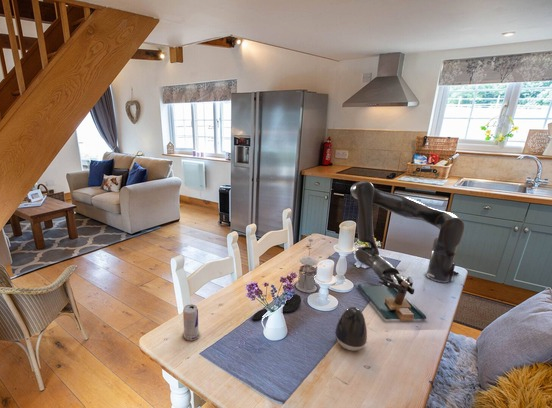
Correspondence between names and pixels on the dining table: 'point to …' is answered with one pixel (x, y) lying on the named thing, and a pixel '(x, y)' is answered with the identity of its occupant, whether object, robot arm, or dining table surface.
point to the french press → (307, 274)
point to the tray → (378, 299)
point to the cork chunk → (404, 314)
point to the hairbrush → (286, 309)
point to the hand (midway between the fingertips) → (408, 292)
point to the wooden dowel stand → (398, 300)
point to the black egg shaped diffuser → (351, 329)
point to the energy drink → (190, 322)
